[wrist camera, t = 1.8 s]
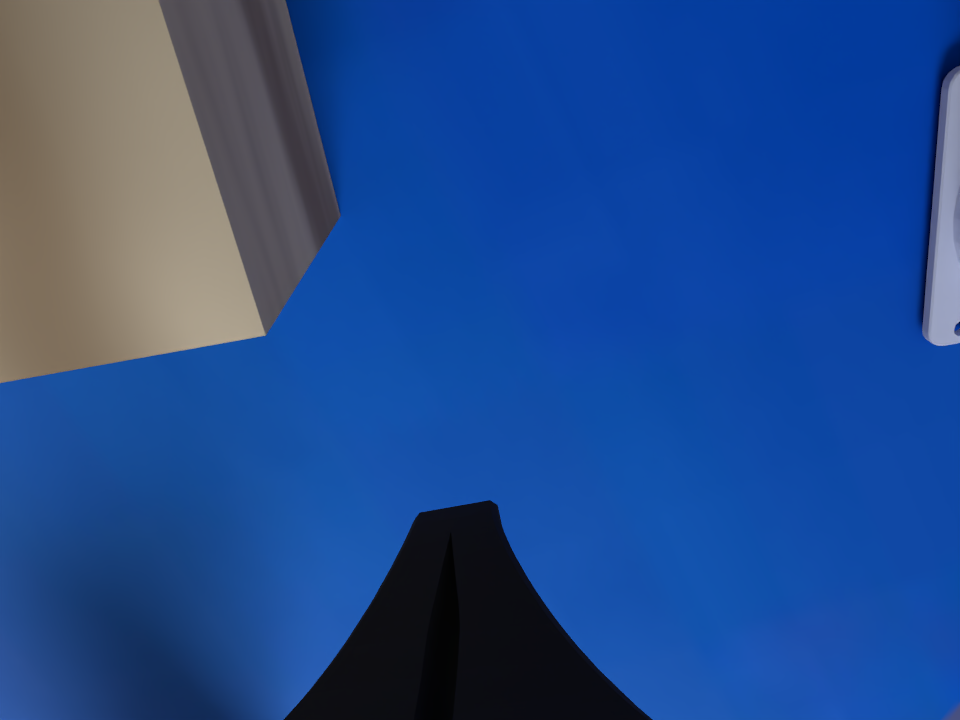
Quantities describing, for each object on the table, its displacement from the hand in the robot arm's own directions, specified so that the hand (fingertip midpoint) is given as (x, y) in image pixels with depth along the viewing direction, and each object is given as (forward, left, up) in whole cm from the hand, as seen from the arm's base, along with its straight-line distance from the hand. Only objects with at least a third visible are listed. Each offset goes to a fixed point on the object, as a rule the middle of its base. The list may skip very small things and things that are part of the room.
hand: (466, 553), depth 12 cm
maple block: (+5, -7, -10) cm, 14 cm away
